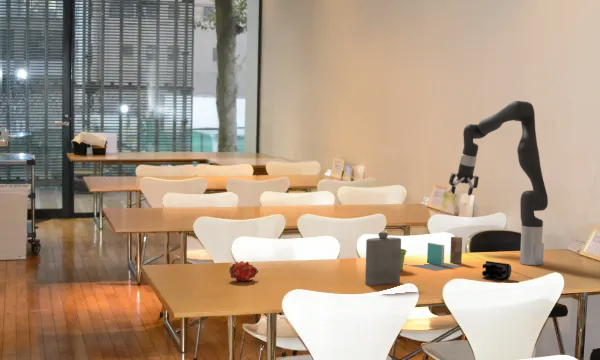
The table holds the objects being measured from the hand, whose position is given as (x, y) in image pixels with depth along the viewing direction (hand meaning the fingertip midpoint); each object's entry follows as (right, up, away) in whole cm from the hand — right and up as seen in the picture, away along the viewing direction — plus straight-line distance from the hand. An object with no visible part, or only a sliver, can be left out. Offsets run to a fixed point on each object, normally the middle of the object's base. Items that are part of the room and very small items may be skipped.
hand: (461, 194), depth 419 cm
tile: (-21, -30, -50) cm, 62 cm away
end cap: (-1, -33, -79) cm, 86 cm away
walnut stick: (-11, -30, -46) cm, 57 cm away
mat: (-23, -31, -52) cm, 65 cm away
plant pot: (-41, -31, -64) cm, 82 cm away
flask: (-49, -33, -93) cm, 110 cm away
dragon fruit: (-103, -32, -93) cm, 143 cm away
